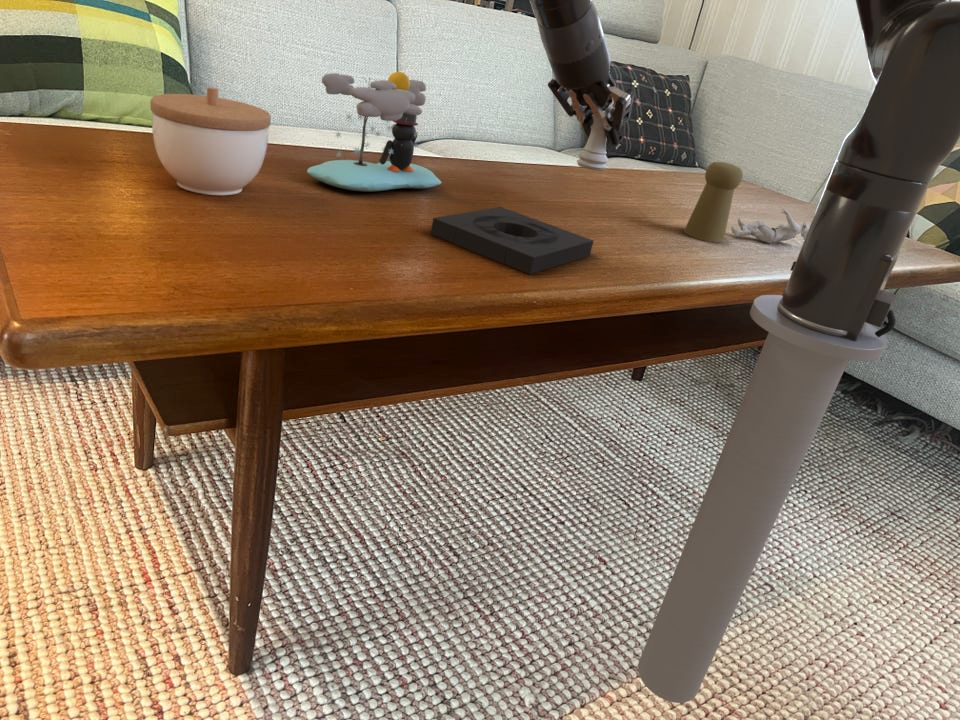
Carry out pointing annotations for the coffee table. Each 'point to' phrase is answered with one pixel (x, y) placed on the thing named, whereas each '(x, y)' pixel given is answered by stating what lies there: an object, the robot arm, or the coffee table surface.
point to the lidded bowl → (209, 141)
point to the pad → (512, 239)
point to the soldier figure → (772, 230)
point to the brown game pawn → (714, 203)
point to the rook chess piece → (595, 148)
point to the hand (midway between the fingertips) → (605, 139)
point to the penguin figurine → (390, 105)
